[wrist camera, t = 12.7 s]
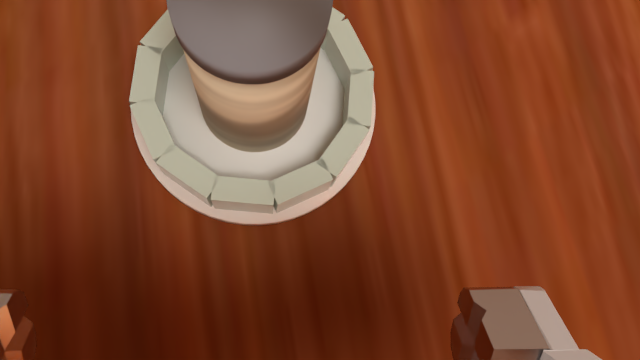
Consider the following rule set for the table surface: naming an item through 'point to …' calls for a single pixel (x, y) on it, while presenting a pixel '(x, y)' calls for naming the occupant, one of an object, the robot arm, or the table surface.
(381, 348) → the table surface
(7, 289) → the robot arm
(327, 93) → the ceramic dish
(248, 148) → the spice jar
